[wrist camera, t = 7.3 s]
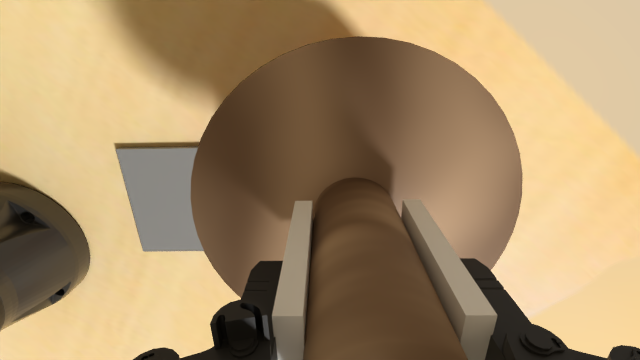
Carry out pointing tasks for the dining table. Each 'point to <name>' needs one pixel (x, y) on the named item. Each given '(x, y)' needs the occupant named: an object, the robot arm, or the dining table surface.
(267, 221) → the lid
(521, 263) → the dining table surface
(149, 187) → the mat
